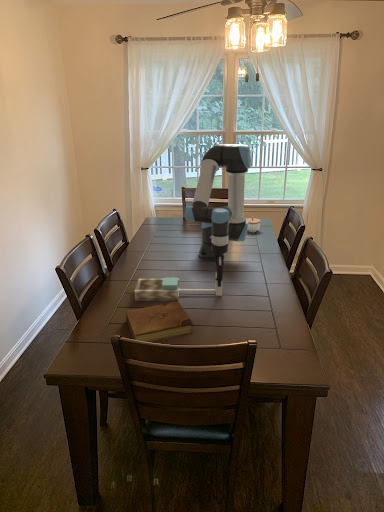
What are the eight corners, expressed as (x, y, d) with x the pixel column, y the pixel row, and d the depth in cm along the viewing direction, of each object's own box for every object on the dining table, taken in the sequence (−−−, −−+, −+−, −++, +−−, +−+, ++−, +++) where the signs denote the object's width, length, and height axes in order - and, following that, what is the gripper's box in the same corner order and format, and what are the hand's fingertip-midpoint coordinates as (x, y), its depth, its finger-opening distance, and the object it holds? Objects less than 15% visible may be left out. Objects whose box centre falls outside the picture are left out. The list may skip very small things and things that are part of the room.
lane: (179, 287, 185) (179, 278, 183) (178, 300, 173) (178, 291, 171) (139, 287, 185) (138, 278, 183) (135, 300, 173) (134, 291, 171)
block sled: (221, 289, 182) (221, 270, 178) (222, 297, 174) (222, 277, 171) (164, 289, 182) (163, 270, 179) (162, 297, 175) (161, 278, 171)
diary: (178, 311, 165) (177, 300, 163) (192, 334, 149) (192, 322, 147) (126, 321, 158) (125, 309, 156) (135, 347, 142) (134, 334, 139)
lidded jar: (250, 234, 257) (251, 221, 253) (241, 229, 266) (242, 217, 262) (262, 231, 261) (263, 218, 258) (253, 227, 270) (254, 215, 267)
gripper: (210, 236, 177) (210, 280, 186) (212, 250, 160) (211, 298, 169) (226, 236, 177) (225, 280, 186) (229, 250, 160) (228, 298, 169)
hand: (218, 288), depth 177 cm, fingers closed on block sled, 5 cm apart
